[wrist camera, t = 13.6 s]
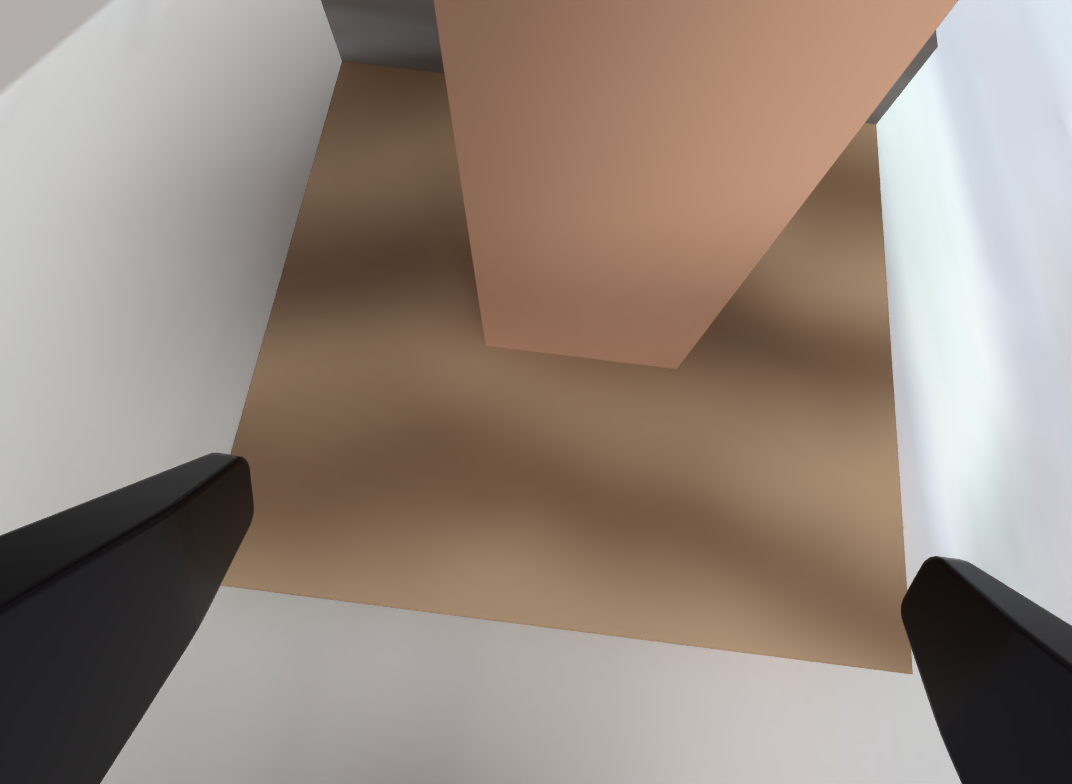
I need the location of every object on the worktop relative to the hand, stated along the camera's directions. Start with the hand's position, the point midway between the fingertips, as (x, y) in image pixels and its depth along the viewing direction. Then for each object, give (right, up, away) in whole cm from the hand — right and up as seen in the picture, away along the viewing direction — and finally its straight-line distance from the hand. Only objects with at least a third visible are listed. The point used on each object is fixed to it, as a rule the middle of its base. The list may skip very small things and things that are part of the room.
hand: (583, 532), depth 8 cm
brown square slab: (+1, +4, +11) cm, 12 cm away
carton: (+1, +5, +10) cm, 11 cm away
